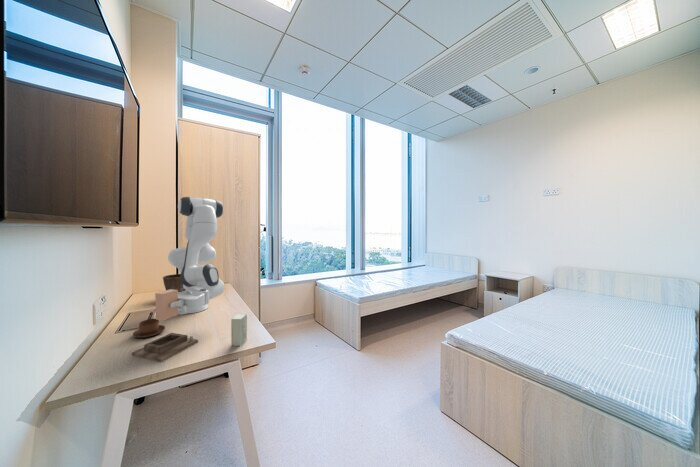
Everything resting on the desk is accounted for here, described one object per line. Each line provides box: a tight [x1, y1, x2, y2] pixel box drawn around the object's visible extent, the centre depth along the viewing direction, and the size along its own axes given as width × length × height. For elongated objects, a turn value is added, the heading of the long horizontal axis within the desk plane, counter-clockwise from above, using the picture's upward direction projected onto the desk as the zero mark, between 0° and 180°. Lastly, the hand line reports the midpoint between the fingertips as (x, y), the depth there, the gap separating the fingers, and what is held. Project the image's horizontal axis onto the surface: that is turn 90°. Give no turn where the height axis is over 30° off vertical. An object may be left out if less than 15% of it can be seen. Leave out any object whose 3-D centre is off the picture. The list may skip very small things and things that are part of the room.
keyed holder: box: [131, 332, 199, 363], centre depth 103 cm, size 16×16×4 cm
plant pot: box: [162, 273, 183, 292], centre depth 171 cm, size 15×15×16 cm
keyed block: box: [154, 289, 179, 321], centre depth 103 cm, size 4×6×11 cm, turn 165°
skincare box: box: [230, 313, 248, 347], centre depth 108 cm, size 6×4×12 cm
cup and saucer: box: [132, 318, 166, 339], centre depth 116 cm, size 12×12×6 cm
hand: (164, 304), depth 102 cm, fingers closed on keyed block, 4 cm apart
